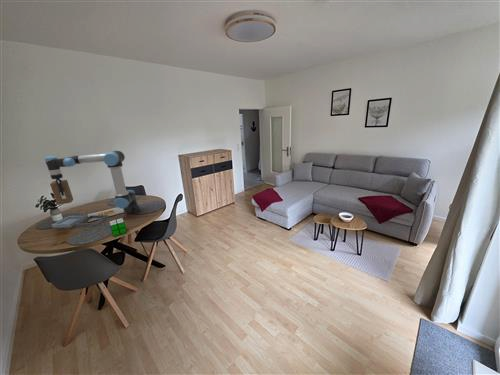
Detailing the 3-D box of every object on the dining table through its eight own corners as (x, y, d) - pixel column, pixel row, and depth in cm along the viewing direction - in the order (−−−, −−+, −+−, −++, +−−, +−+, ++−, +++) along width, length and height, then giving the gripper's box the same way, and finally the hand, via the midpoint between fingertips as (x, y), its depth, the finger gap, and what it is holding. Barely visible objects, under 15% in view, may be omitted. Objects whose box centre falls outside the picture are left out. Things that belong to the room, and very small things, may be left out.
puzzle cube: (125, 227, 176) (122, 217, 173) (127, 232, 168) (124, 221, 165) (112, 232, 170) (108, 221, 167) (113, 236, 163) (110, 225, 160)
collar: (108, 217, 200) (108, 214, 199) (95, 225, 183) (94, 223, 182) (91, 217, 201) (90, 215, 200) (76, 226, 184) (75, 224, 183)
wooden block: (71, 202, 183) (64, 181, 177) (57, 205, 178) (49, 183, 172) (73, 199, 191) (66, 179, 185) (59, 201, 186) (52, 181, 180)
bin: (86, 218, 199) (85, 215, 198) (71, 227, 182) (69, 224, 181) (69, 219, 200) (68, 216, 199) (52, 228, 183) (51, 224, 182)
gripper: (50, 173, 182) (58, 195, 188) (50, 177, 166) (58, 201, 172) (61, 171, 187) (68, 193, 193) (62, 175, 170) (70, 199, 177)
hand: (64, 197), depth 183 cm, fingers closed on wooden block, 11 cm apart
